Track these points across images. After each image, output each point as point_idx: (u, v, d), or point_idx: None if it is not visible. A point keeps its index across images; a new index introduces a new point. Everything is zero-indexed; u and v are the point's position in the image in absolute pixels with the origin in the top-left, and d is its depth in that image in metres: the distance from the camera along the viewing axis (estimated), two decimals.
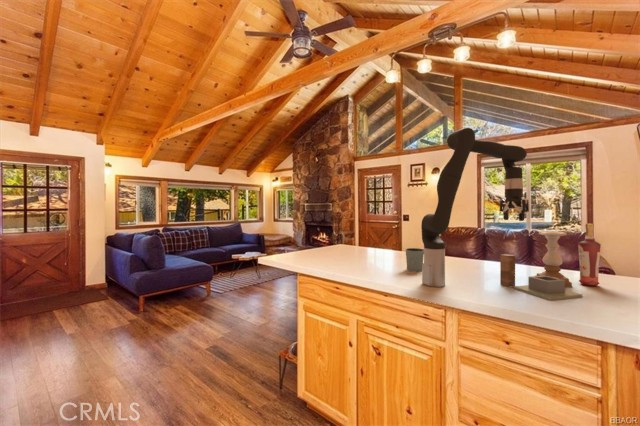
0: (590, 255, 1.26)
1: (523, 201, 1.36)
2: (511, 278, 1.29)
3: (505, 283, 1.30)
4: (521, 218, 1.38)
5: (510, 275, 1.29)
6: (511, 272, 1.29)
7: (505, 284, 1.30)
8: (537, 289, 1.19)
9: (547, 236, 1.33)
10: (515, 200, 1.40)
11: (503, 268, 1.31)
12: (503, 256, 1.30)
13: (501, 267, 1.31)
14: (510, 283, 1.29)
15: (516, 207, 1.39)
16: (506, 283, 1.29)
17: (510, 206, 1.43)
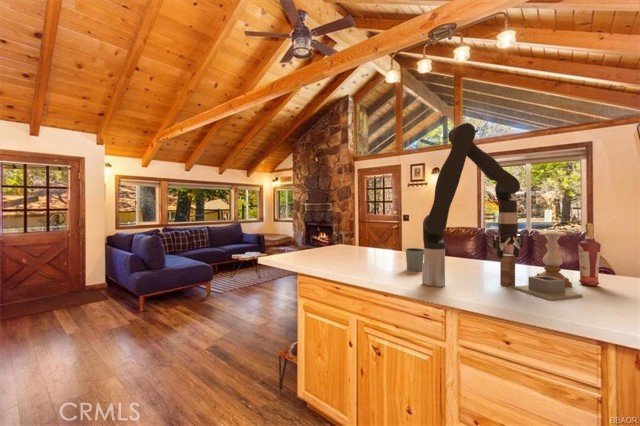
0: (590, 255, 1.26)
1: (521, 236, 1.30)
2: (511, 278, 1.29)
3: (505, 283, 1.30)
4: None
5: (510, 275, 1.29)
6: (511, 272, 1.29)
7: (505, 284, 1.30)
8: (537, 289, 1.19)
9: (547, 236, 1.33)
10: (513, 236, 1.29)
11: (503, 268, 1.31)
12: (503, 256, 1.30)
13: (501, 267, 1.31)
14: (510, 283, 1.29)
15: (517, 243, 1.29)
16: (506, 283, 1.29)
17: (508, 242, 1.29)
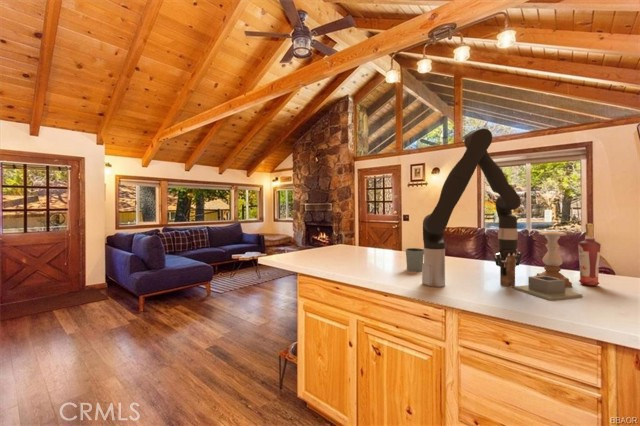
0: (590, 255, 1.26)
1: (521, 255, 1.30)
2: (511, 278, 1.29)
3: (505, 283, 1.30)
4: None
5: (510, 275, 1.29)
6: (510, 272, 1.29)
7: (505, 284, 1.30)
8: (537, 289, 1.19)
9: (547, 236, 1.33)
10: (513, 251, 1.30)
11: None
12: None
13: None
14: (510, 283, 1.29)
15: None
16: (506, 283, 1.29)
17: None
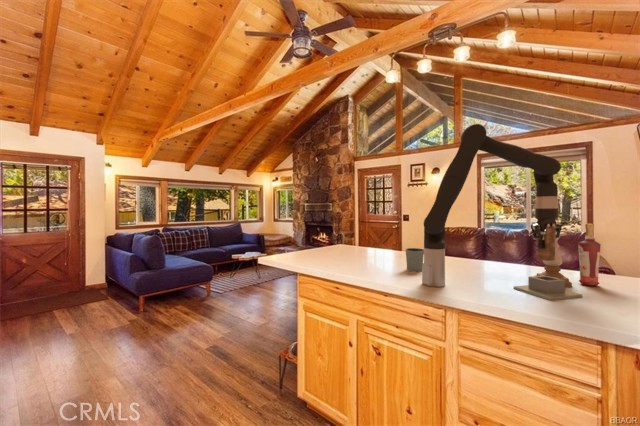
0: (590, 255, 1.26)
1: (561, 226, 1.19)
2: (551, 251, 1.17)
3: (544, 257, 1.18)
4: None
5: (550, 248, 1.17)
6: (550, 245, 1.17)
7: (544, 258, 1.18)
8: (537, 289, 1.19)
9: None
10: (553, 222, 1.18)
11: None
12: None
13: None
14: (550, 257, 1.17)
15: None
16: (545, 257, 1.17)
17: None
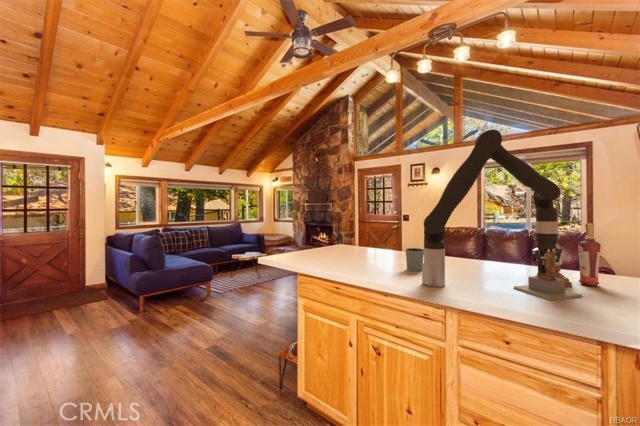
0: (590, 255, 1.26)
1: (561, 251, 1.19)
2: (551, 276, 1.17)
3: None
4: None
5: (550, 273, 1.17)
6: (550, 270, 1.17)
7: None
8: (537, 289, 1.19)
9: None
10: (553, 247, 1.18)
11: None
12: None
13: None
14: None
15: None
16: None
17: None
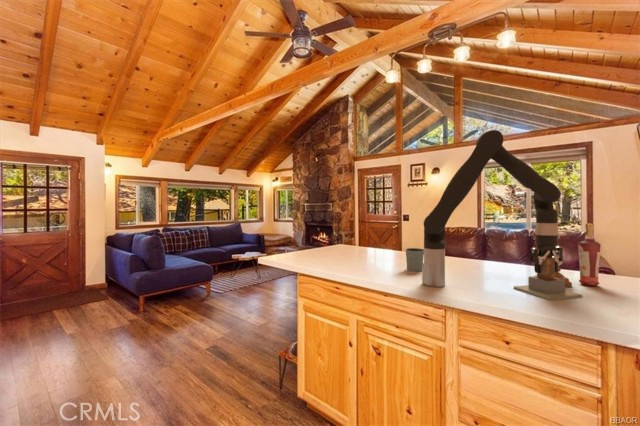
0: (590, 255, 1.26)
1: (561, 249, 1.19)
2: None
3: None
4: None
5: None
6: (550, 276, 1.17)
7: None
8: (537, 289, 1.19)
9: None
10: (553, 248, 1.18)
11: (541, 271, 1.19)
12: None
13: None
14: None
15: (556, 257, 1.18)
16: None
17: (547, 256, 1.18)
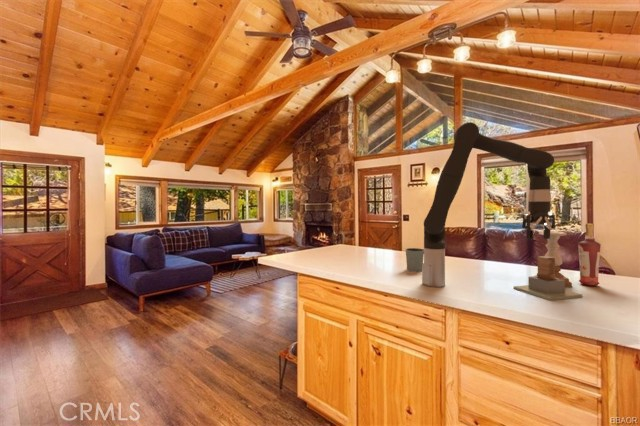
0: (590, 255, 1.26)
1: (554, 216, 1.21)
2: None
3: None
4: None
5: None
6: (550, 276, 1.17)
7: None
8: (537, 289, 1.19)
9: None
10: (545, 215, 1.20)
11: (541, 271, 1.19)
12: (541, 258, 1.19)
13: (538, 270, 1.20)
14: None
15: (548, 223, 1.19)
16: None
17: (539, 222, 1.19)
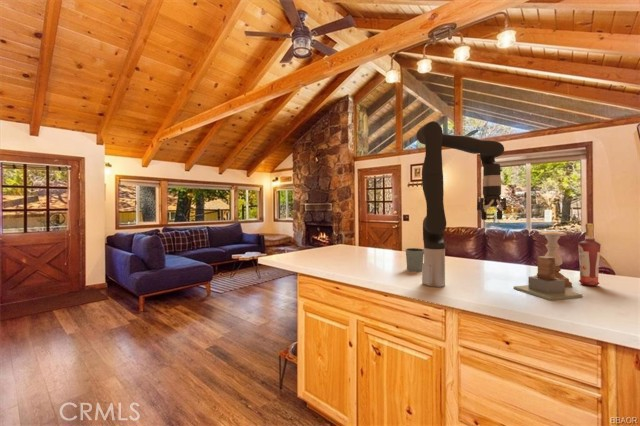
0: (590, 255, 1.26)
1: (505, 199, 1.35)
2: None
3: None
4: (501, 216, 1.36)
5: None
6: (550, 276, 1.17)
7: None
8: (537, 289, 1.19)
9: (547, 236, 1.33)
10: (497, 198, 1.34)
11: (541, 271, 1.19)
12: (541, 258, 1.19)
13: (538, 270, 1.20)
14: None
15: (500, 205, 1.34)
16: None
17: (492, 204, 1.34)
